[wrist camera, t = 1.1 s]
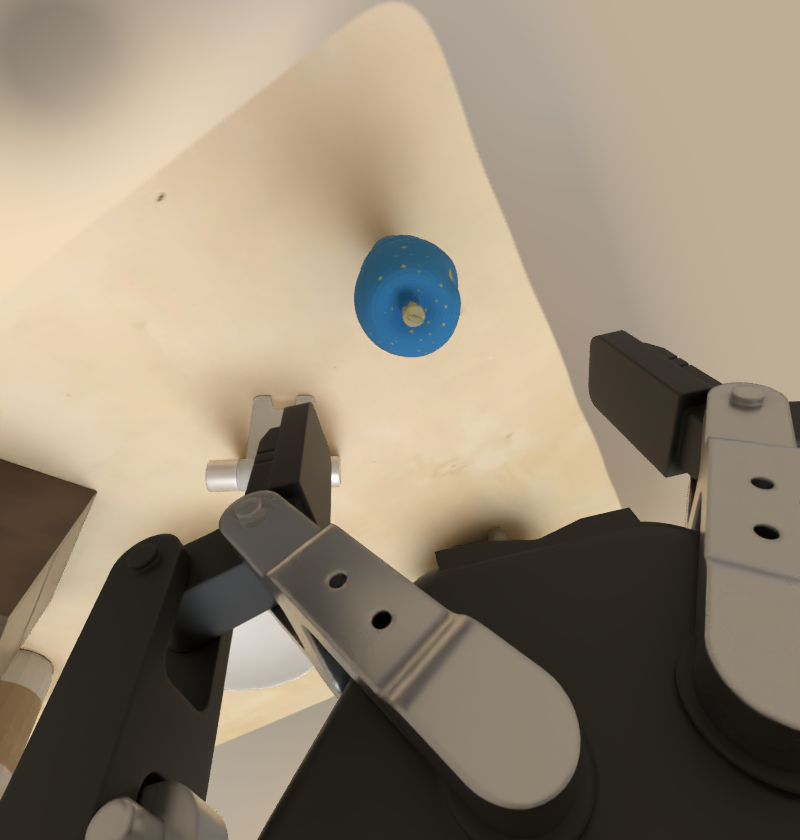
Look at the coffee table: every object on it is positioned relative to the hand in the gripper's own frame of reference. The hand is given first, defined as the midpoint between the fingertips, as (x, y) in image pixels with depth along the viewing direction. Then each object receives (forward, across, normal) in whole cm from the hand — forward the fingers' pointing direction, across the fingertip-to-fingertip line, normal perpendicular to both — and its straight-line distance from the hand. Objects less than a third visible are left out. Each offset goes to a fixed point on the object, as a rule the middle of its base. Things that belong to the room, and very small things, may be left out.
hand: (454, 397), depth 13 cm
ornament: (+21, 0, 0) cm, 21 cm away
